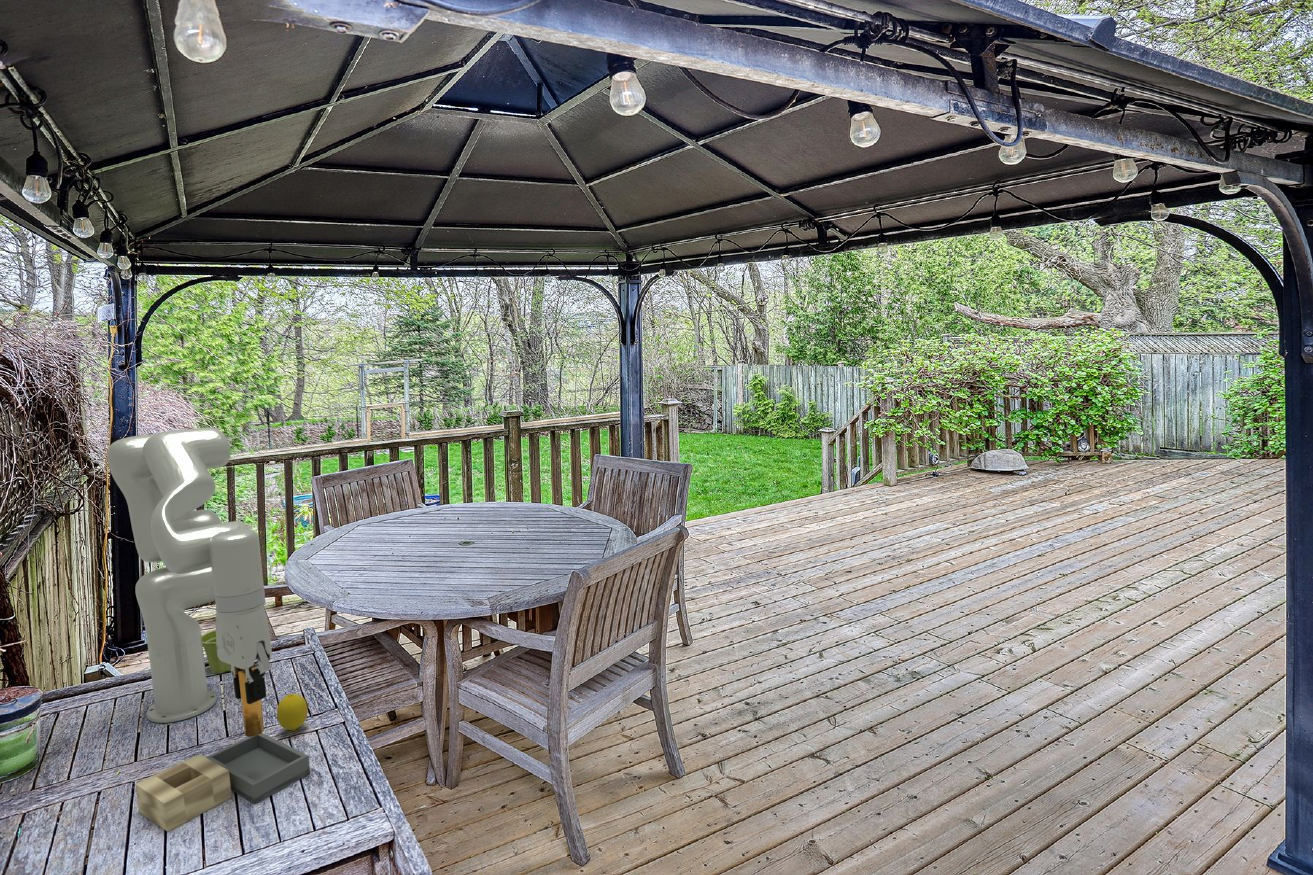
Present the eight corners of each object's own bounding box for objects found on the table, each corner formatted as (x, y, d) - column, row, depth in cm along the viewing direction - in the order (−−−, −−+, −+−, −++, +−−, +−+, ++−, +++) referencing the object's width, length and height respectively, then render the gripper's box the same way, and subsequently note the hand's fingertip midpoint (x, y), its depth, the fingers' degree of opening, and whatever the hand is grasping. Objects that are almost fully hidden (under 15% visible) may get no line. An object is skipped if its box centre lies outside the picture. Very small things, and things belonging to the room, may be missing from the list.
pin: (241, 733, 126) (234, 670, 124) (258, 725, 128) (251, 664, 127) (250, 738, 124) (243, 674, 123) (267, 730, 127) (260, 667, 125)
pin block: (138, 811, 118) (135, 783, 117) (202, 779, 126) (199, 753, 126) (167, 831, 113) (164, 803, 112) (231, 797, 121) (228, 770, 120)
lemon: (296, 739, 139) (293, 701, 138) (272, 736, 140) (268, 699, 139) (315, 724, 144) (311, 687, 143) (291, 722, 145) (288, 685, 144)
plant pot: (227, 678, 165) (223, 643, 164) (193, 675, 167) (189, 641, 166) (256, 660, 174) (253, 627, 173) (223, 658, 176) (219, 625, 175)
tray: (206, 775, 127) (204, 757, 127) (261, 748, 136) (259, 731, 135) (255, 804, 119) (253, 785, 119) (310, 773, 128) (308, 755, 127)
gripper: (194, 599, 124) (205, 696, 126) (244, 615, 116) (255, 719, 118) (237, 586, 130) (247, 679, 133) (287, 600, 122) (297, 699, 124)
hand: (250, 697), depth 125 cm, fingers closed on pin, 3 cm apart
